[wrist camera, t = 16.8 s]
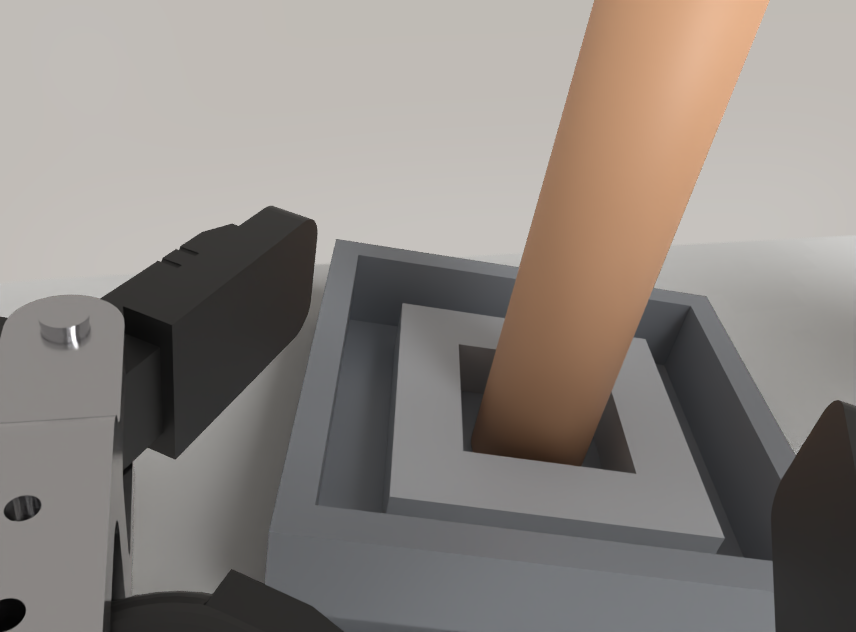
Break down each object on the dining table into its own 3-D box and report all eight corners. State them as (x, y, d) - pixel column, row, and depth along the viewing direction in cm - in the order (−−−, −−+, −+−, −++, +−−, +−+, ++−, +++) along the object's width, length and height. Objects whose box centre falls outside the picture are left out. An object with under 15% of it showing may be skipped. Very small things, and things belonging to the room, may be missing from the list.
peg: (570, 420, 29) (752, -65, 19) (588, 500, 25) (819, -41, 16) (468, 407, 28) (604, -95, 19) (473, 485, 25) (641, -77, 16)
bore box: (673, 368, 34) (706, 296, 32) (809, 685, 22) (878, 603, 20) (327, 318, 33) (336, 239, 31) (261, 626, 20) (268, 531, 18)
